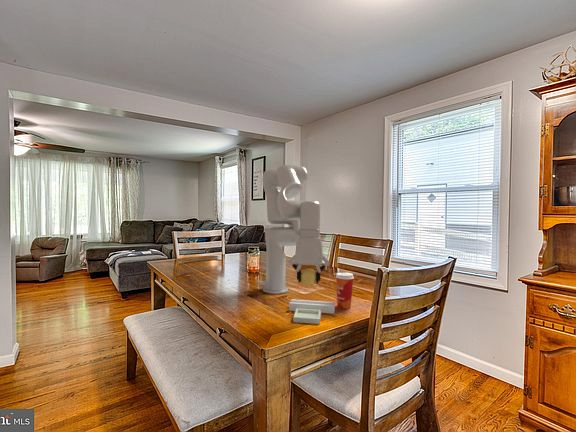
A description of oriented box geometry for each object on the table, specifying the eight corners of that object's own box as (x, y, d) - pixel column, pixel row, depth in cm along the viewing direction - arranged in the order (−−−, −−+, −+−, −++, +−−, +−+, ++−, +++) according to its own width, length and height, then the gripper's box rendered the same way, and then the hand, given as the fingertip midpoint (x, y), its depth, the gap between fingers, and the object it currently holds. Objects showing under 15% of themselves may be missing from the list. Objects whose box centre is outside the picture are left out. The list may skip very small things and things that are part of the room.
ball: (299, 286, 110) (299, 269, 110) (301, 282, 116) (301, 266, 116) (316, 287, 109) (316, 270, 109) (316, 283, 115) (317, 267, 115)
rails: (289, 310, 121) (289, 303, 121) (291, 306, 126) (291, 299, 126) (334, 313, 118) (334, 306, 118) (334, 309, 123) (334, 302, 123)
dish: (293, 322, 109) (293, 317, 109) (296, 312, 118) (296, 308, 118) (319, 324, 107) (319, 319, 107) (320, 314, 117) (321, 310, 117)
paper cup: (332, 304, 130) (333, 272, 130) (350, 303, 131) (351, 272, 130) (337, 310, 122) (338, 276, 122) (355, 310, 123) (356, 276, 122)
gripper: (285, 234, 109) (284, 283, 110) (332, 235, 107) (331, 286, 107) (288, 232, 117) (287, 278, 117) (332, 234, 114) (331, 281, 115)
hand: (308, 281), depth 112 cm, fingers closed on ball, 5 cm apart
